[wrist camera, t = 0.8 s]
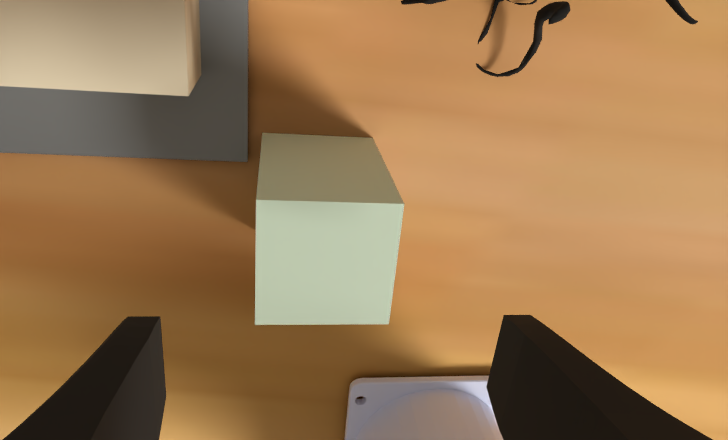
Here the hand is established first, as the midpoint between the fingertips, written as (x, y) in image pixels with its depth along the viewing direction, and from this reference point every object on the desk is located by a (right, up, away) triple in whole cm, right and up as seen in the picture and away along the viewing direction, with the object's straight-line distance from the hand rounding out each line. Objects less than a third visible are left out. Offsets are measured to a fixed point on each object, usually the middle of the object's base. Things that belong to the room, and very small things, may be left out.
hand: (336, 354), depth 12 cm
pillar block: (-1, +4, +10) cm, 10 cm away
